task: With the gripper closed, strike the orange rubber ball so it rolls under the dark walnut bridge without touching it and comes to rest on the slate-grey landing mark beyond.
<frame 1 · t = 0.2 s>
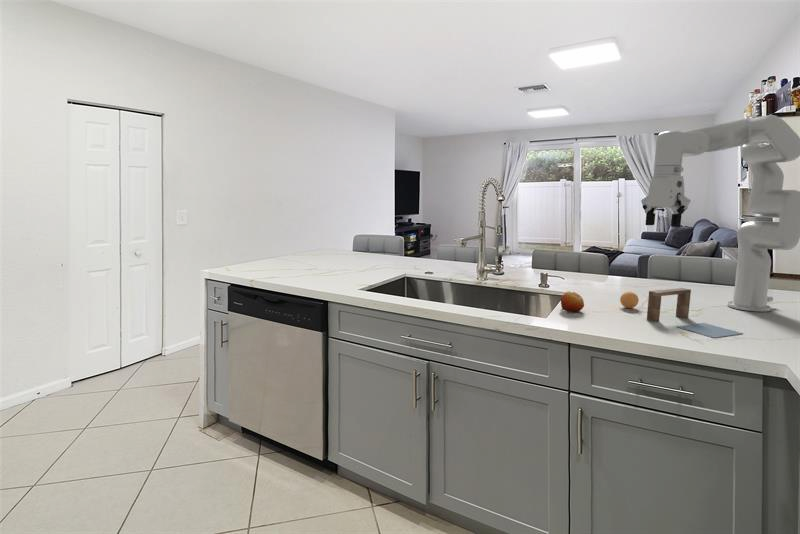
hand: (662, 226, 144), 31 cm above the counter, tool pointing down, fingers open, 9 cm apart
landing mark: (708, 330, 136), on the counter
ball: (629, 299, 163), on the counter
bridge: (667, 318, 149), on the counter
fruit: (571, 312, 159), on the counter
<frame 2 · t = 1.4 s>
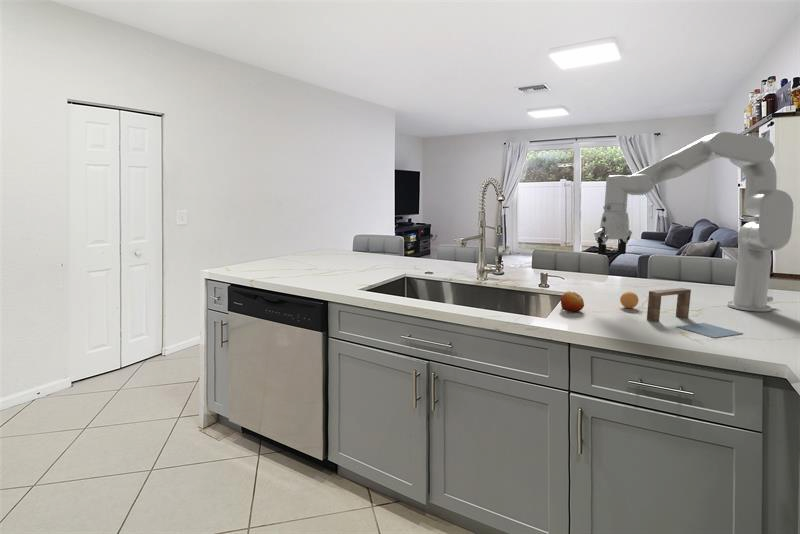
hand: (611, 254, 170), 19 cm above the counter, tool pointing down, fingers open, 9 cm apart
nothing on the counter moved.
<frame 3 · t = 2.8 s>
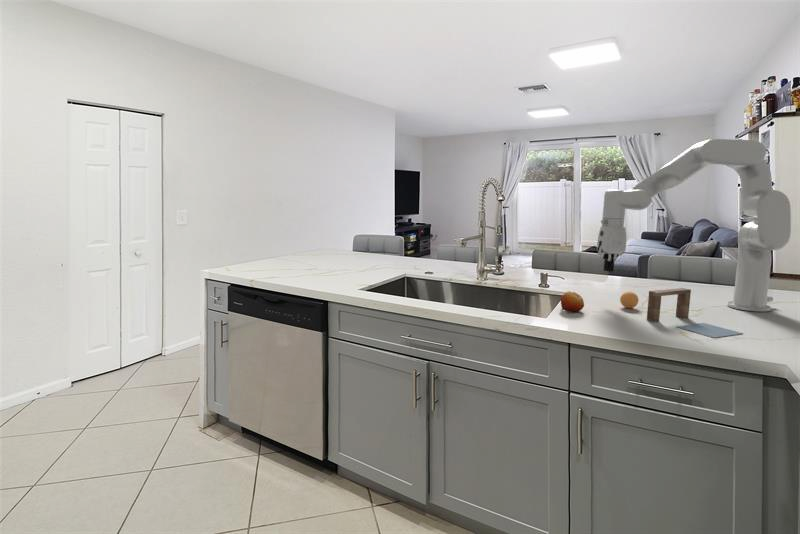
hand: (608, 270, 171), 12 cm above the counter, tool pointing down, fingers closed
nothing on the counter moved.
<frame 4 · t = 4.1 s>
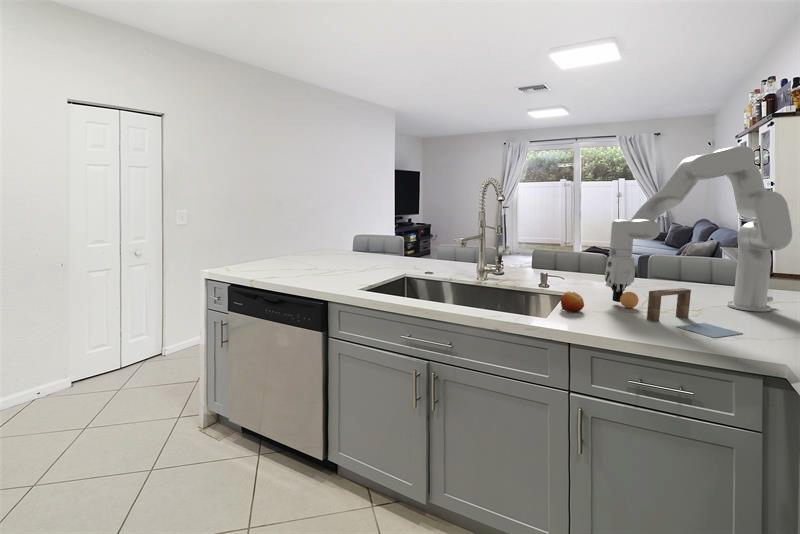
hand: (617, 301, 169), 1 cm above the counter, tool pointing down, fingers closed
nothing on the counter moved.
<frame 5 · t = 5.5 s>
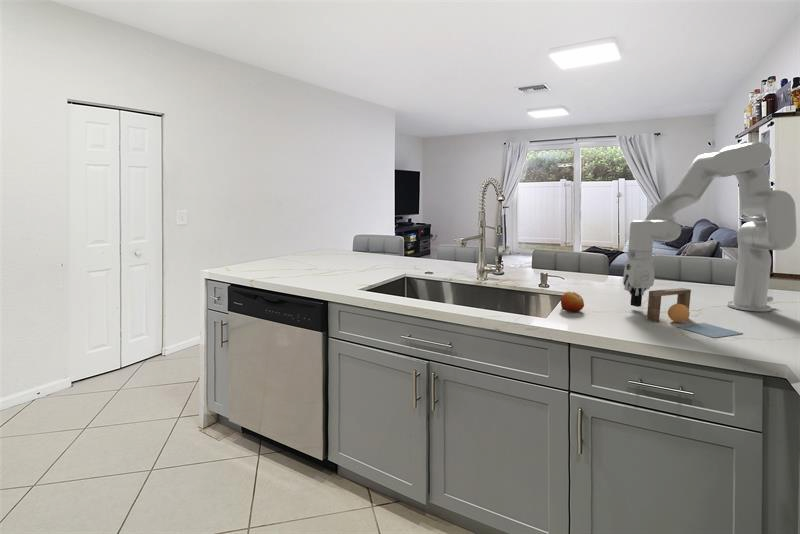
hand: (635, 305, 161), 2 cm above the counter, tool pointing down, fingers closed
ball: (678, 313, 144), on the counter
everything else where it was.
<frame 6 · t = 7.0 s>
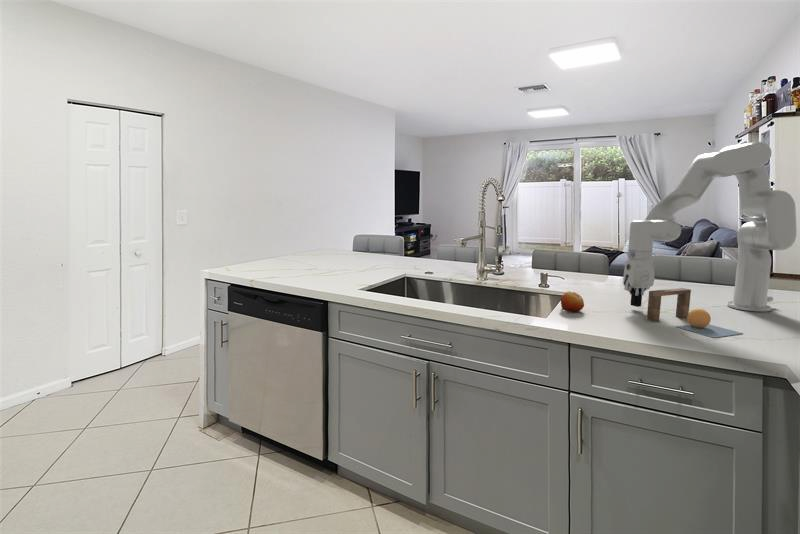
hand: (635, 305, 161), 2 cm above the counter, tool pointing down, fingers closed
ball: (698, 318, 138), on the counter
everything else where it was.
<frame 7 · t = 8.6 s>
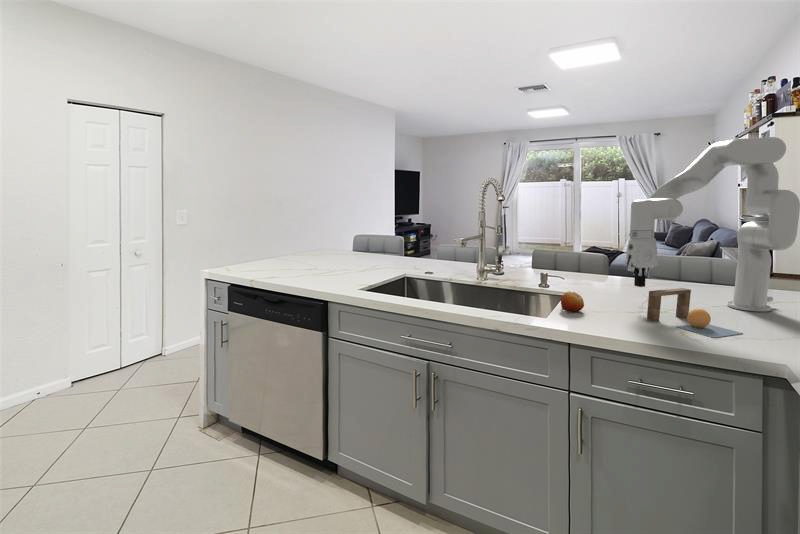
hand: (639, 286, 160), 9 cm above the counter, tool pointing down, fingers closed
nothing on the counter moved.
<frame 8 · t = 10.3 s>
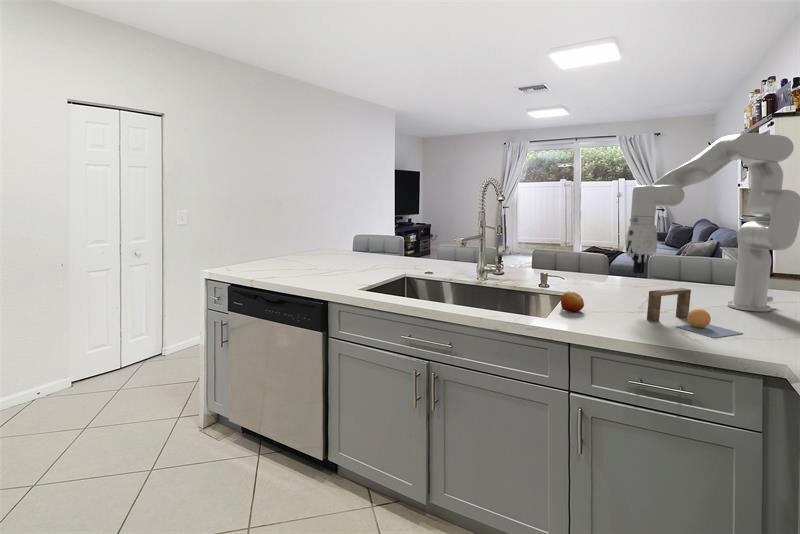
hand: (638, 272, 159), 13 cm above the counter, tool pointing down, fingers closed
nothing on the counter moved.
at the end: ball 3.1 cm from the landing mark (horizontally); ball never touched bridge; ball at rest at the end (0.0 cm/s) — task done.
